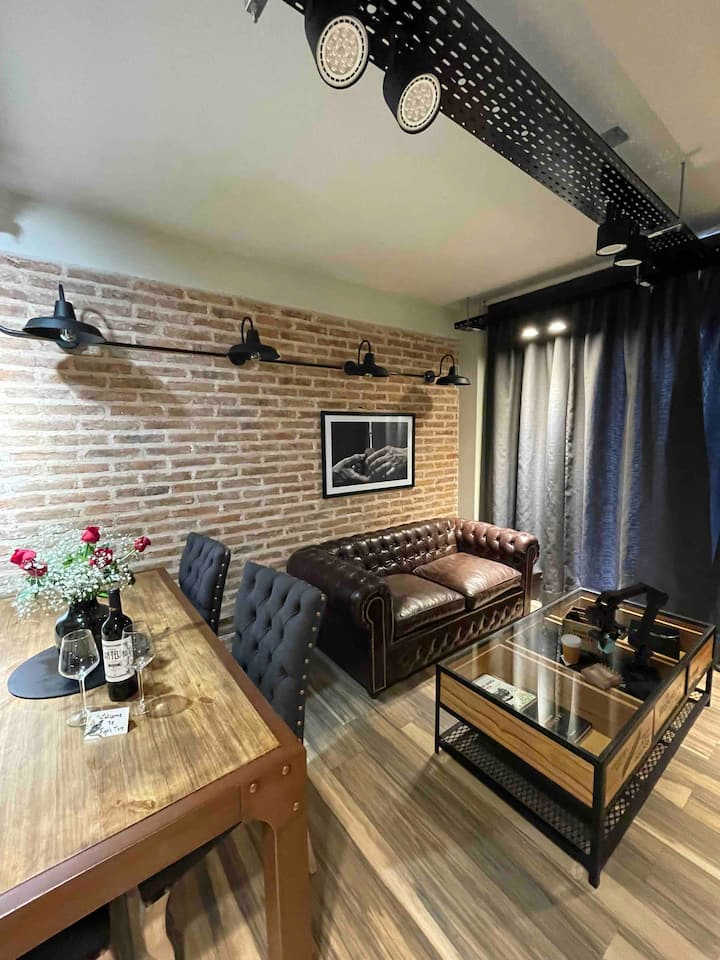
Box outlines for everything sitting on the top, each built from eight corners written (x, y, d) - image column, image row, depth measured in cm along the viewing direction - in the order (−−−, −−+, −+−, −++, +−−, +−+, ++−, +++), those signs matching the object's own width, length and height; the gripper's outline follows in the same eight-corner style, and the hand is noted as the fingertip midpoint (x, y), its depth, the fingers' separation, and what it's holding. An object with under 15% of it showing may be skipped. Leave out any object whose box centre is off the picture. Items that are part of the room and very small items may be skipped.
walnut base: (598, 667, 197) (599, 662, 197) (622, 682, 186) (622, 677, 185) (580, 674, 193) (581, 669, 192) (604, 689, 182) (604, 684, 181)
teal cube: (605, 645, 197) (605, 636, 196) (614, 651, 193) (615, 641, 192) (597, 648, 196) (598, 638, 195) (607, 653, 191) (607, 644, 190)
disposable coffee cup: (584, 666, 198) (585, 644, 196) (563, 665, 200) (563, 643, 198) (578, 655, 207) (578, 634, 205) (558, 654, 209) (558, 633, 207)
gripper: (606, 606, 202) (605, 635, 204) (578, 614, 196) (577, 643, 198) (628, 616, 192) (626, 646, 194) (599, 625, 185) (597, 655, 188)
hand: (606, 647), depth 194 cm, fingers closed on teal cube, 5 cm apart
